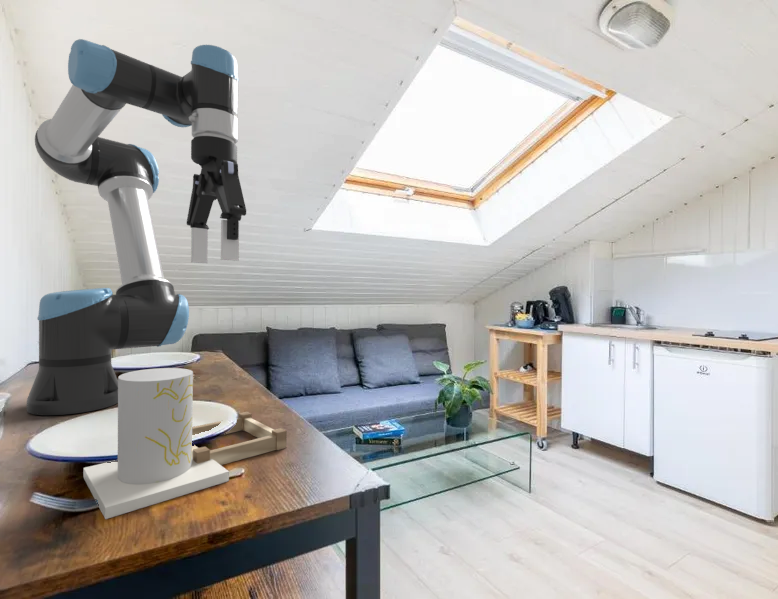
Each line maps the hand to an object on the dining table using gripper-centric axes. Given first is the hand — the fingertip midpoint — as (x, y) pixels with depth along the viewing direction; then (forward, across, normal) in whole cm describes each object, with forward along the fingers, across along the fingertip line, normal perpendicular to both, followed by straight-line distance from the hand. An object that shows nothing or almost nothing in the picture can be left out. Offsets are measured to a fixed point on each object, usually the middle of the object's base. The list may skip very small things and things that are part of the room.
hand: (213, 261), depth 74 cm
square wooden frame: (+29, +13, -3) cm, 32 cm away
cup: (+28, +18, -14) cm, 36 cm away
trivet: (+29, +18, -14) cm, 37 cm away
